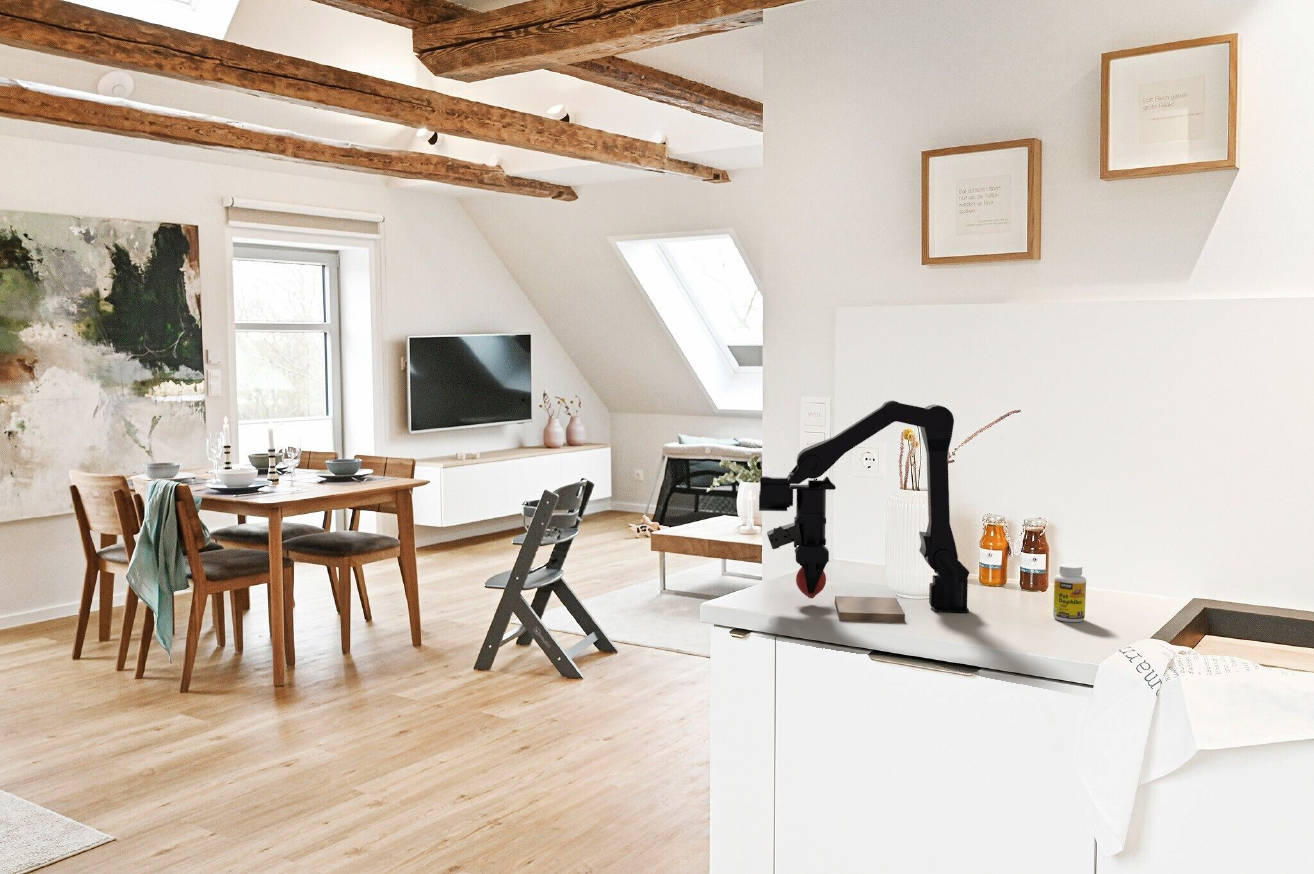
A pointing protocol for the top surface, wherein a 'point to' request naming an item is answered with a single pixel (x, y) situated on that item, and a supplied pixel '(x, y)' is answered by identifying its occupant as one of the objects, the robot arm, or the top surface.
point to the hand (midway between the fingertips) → (810, 590)
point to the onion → (803, 587)
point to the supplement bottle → (1069, 594)
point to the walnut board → (869, 609)
